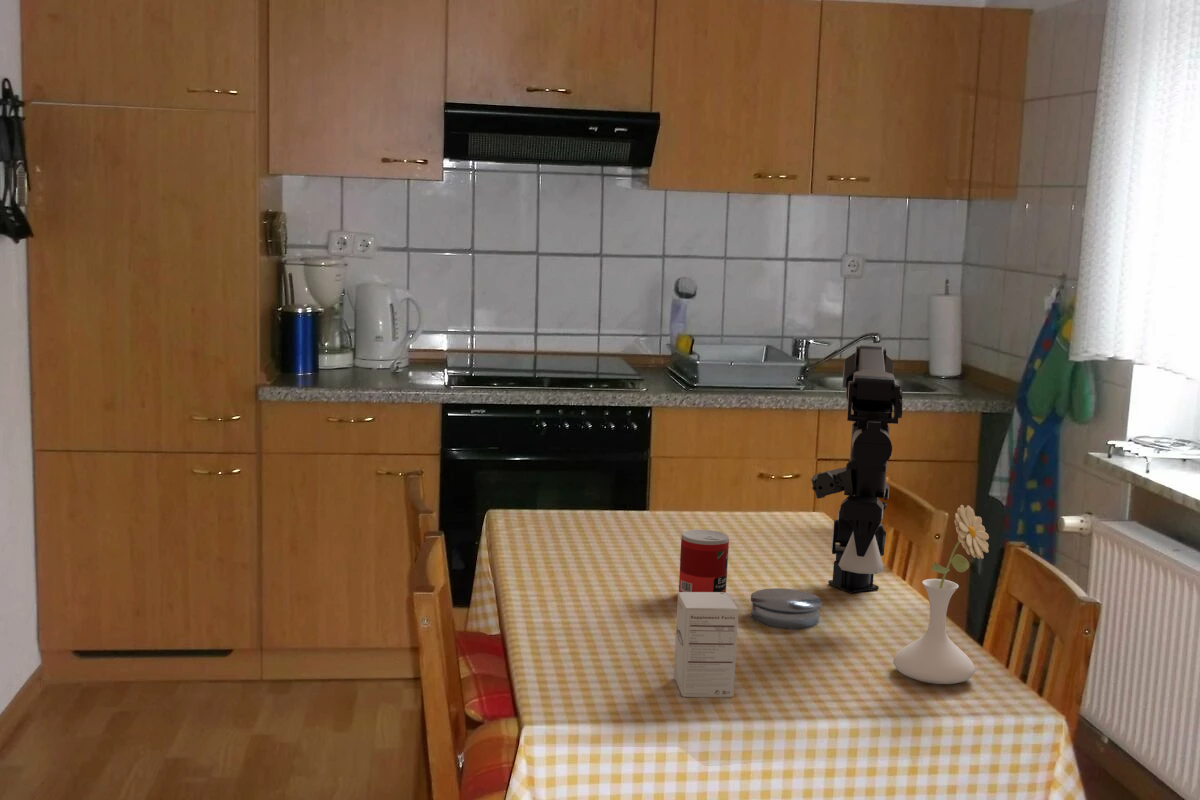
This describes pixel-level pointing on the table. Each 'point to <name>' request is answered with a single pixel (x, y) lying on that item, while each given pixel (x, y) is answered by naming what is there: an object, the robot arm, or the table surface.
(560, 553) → the table surface
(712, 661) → the supplement box
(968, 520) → the flower in vase
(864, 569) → the flask
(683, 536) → the canned food
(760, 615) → the biscuit tin
